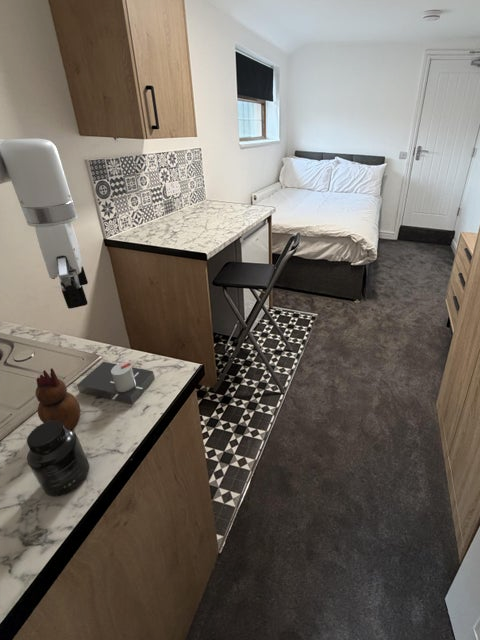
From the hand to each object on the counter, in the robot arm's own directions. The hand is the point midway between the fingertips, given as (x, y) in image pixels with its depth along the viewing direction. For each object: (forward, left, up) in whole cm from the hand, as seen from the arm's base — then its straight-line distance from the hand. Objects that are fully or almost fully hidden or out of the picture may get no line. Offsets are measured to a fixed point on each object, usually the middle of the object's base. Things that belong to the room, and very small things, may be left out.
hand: (78, 295), depth 66 cm
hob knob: (+6, +2, -22) cm, 23 cm away
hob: (+2, +1, -25) cm, 25 cm away
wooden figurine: (+4, -10, -25) cm, 27 cm away
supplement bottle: (+17, -15, -25) cm, 33 cm away
